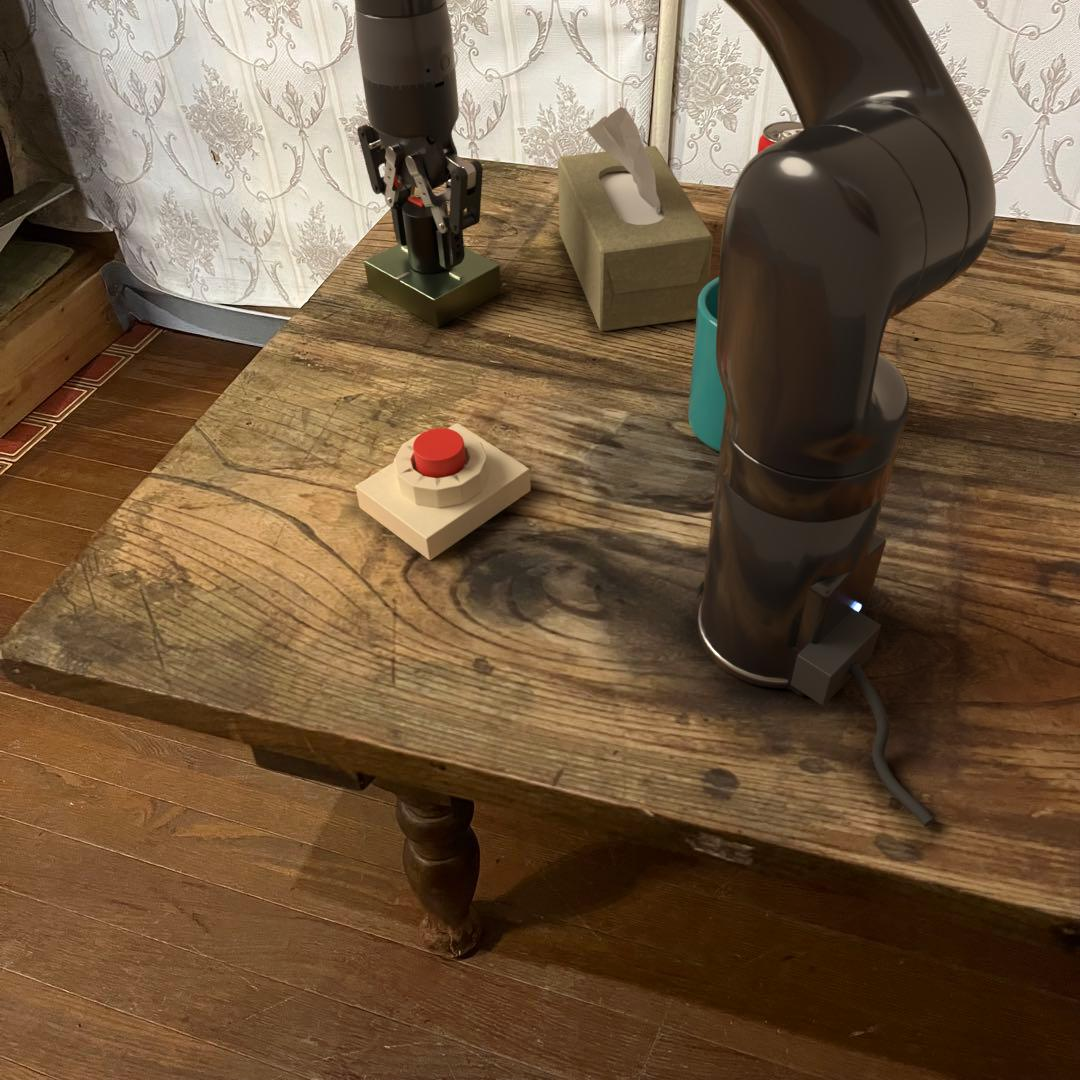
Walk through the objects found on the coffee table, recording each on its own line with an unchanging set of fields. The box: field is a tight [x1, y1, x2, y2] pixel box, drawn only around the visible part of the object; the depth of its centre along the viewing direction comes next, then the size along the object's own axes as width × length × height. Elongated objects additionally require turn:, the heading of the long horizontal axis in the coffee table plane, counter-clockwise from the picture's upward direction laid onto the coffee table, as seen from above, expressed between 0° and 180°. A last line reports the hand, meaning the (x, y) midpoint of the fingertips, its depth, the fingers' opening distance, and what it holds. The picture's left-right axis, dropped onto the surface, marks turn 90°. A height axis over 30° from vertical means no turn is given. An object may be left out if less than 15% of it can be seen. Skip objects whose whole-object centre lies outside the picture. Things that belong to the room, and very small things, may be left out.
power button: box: [413, 427, 466, 478], centre depth 74 cm, size 4×4×2 cm
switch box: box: [354, 422, 532, 561], centre depth 76 cm, size 8×10×4 cm
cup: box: [687, 276, 726, 453], centre depth 77 cm, size 9×12×11 cm
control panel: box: [363, 243, 502, 329], centre depth 96 cm, size 10×8×3 cm
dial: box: [402, 195, 449, 273], centre depth 93 cm, size 4×4×6 cm
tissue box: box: [557, 106, 714, 332], centre depth 93 cm, size 19×10×16 cm, turn 11°
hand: (430, 252), depth 95 cm, fingers open, 5 cm apart
